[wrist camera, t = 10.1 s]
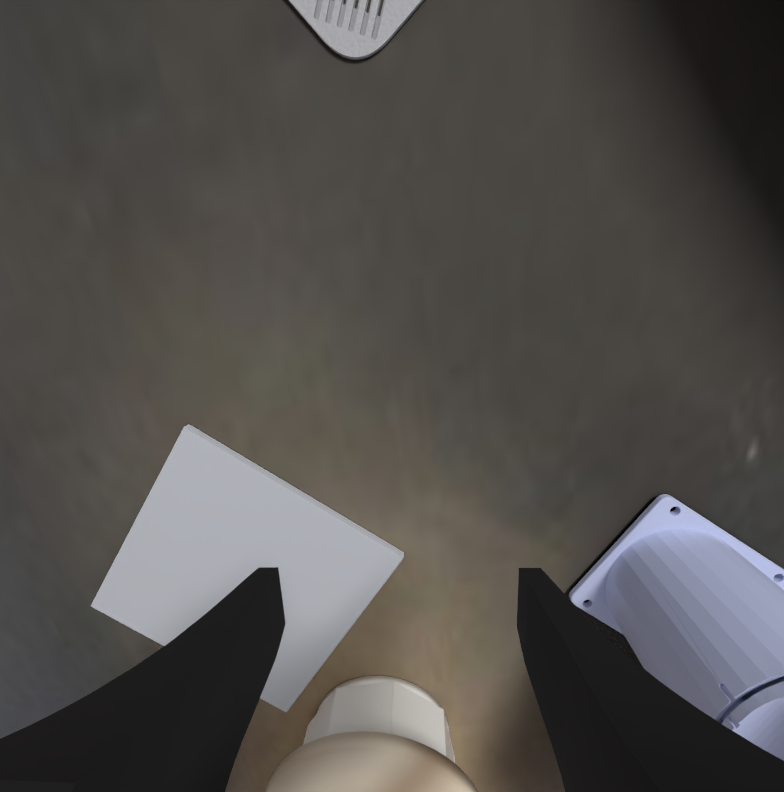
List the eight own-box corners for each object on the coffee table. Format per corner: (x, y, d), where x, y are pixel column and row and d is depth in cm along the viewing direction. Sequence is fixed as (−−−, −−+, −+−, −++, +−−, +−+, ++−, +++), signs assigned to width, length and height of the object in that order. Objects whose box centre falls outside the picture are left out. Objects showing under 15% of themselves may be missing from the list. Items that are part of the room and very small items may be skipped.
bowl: (476, 718, 26) (488, 810, 22) (401, 797, 29) (398, 896, 24) (359, 652, 26) (346, 732, 21) (291, 738, 28) (266, 828, 23)
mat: (404, 552, 24) (403, 557, 23) (288, 705, 27) (286, 712, 27) (188, 424, 23) (183, 427, 22) (96, 600, 26) (90, 606, 26)
